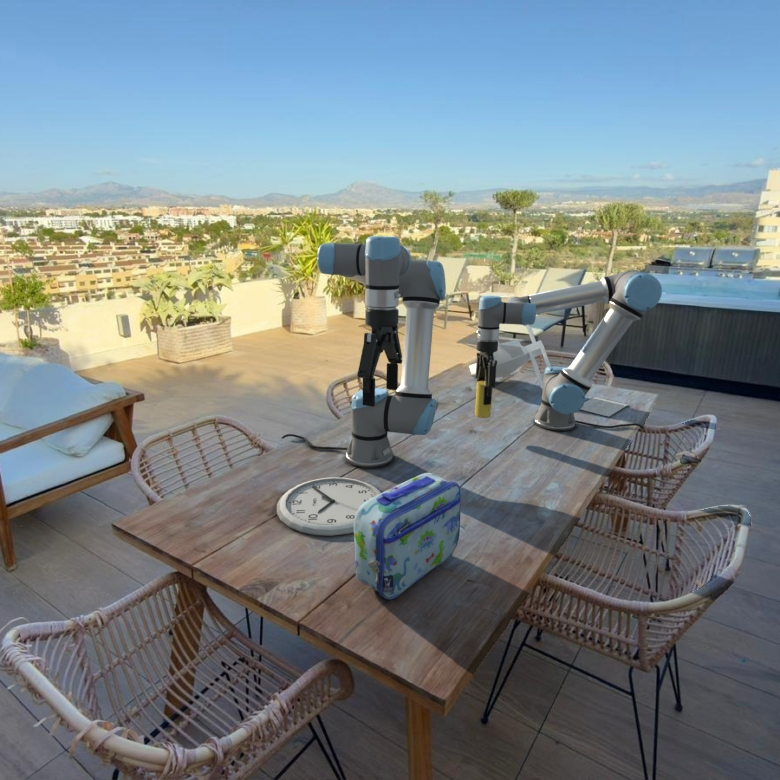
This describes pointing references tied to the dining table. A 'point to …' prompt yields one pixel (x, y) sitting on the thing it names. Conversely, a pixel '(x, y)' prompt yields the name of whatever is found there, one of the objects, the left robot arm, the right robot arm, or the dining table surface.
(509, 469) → the dining table surface
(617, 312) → the right robot arm
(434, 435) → the dining table surface
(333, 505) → the wall clock
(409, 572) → the lunch box
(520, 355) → the white plastic object
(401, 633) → the dining table surface
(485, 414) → the can
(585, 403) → the invitation card
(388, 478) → the dining table surface
